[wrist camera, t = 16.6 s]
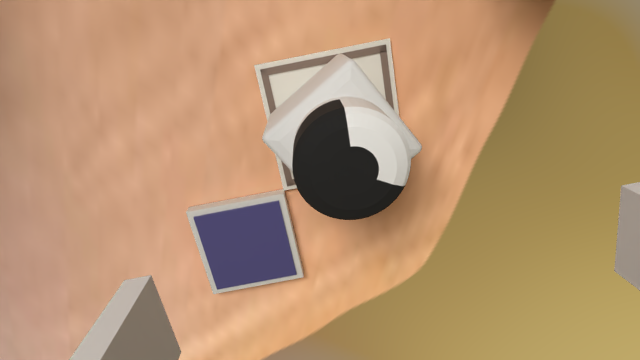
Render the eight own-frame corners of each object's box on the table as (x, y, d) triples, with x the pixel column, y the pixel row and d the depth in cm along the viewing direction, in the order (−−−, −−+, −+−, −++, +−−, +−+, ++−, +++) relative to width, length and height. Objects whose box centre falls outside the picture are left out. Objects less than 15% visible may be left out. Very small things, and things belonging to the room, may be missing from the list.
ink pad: (215, 287, 36) (213, 295, 35) (189, 207, 34) (185, 213, 33) (303, 270, 36) (303, 278, 35) (284, 188, 34) (283, 194, 32)
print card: (284, 188, 34) (283, 191, 33) (254, 65, 30) (254, 65, 30) (404, 165, 33) (405, 167, 33) (388, 38, 30) (390, 38, 29)
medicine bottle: (328, 181, 33) (343, 260, 22) (268, 115, 31) (249, 164, 20) (399, 124, 32) (453, 176, 20) (340, 51, 29) (365, 64, 18)
